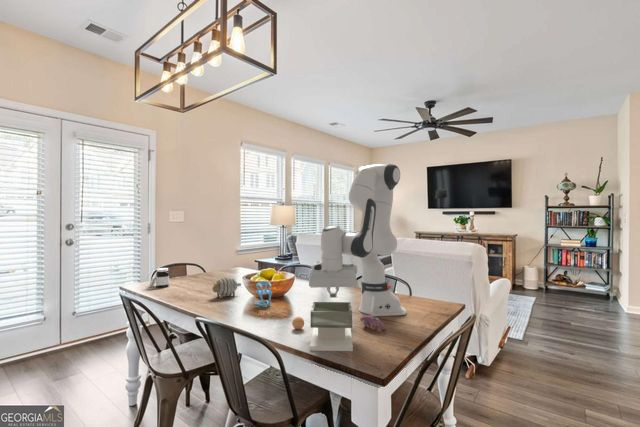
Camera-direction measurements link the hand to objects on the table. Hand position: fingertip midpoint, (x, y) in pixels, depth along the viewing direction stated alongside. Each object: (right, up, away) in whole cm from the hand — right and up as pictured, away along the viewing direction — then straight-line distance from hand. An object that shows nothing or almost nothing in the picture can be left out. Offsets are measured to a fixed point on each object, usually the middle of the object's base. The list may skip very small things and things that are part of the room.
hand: (333, 297), depth 139 cm
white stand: (-1, -13, -8) cm, 15 cm away
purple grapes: (+16, -13, -2) cm, 21 cm away
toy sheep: (-59, -13, +51) cm, 79 cm away
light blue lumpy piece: (-35, -13, +34) cm, 50 cm away
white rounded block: (-111, -13, +77) cm, 136 cm away
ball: (-15, -10, -2) cm, 18 cm away
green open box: (-1, -6, -9) cm, 11 cm away
